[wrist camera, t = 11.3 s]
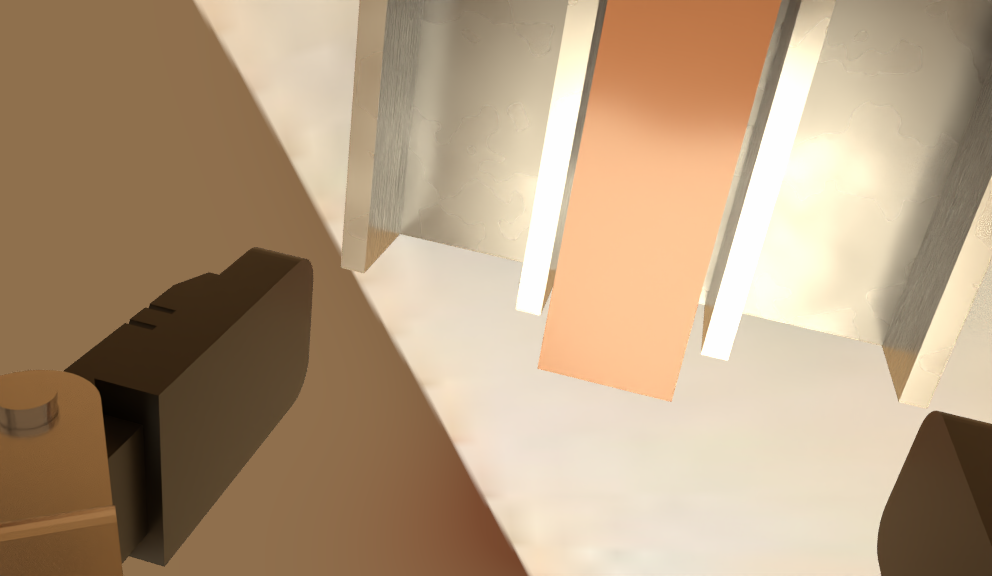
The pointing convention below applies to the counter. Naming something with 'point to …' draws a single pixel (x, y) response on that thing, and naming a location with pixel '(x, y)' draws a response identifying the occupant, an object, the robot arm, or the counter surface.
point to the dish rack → (758, 174)
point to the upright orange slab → (652, 186)
